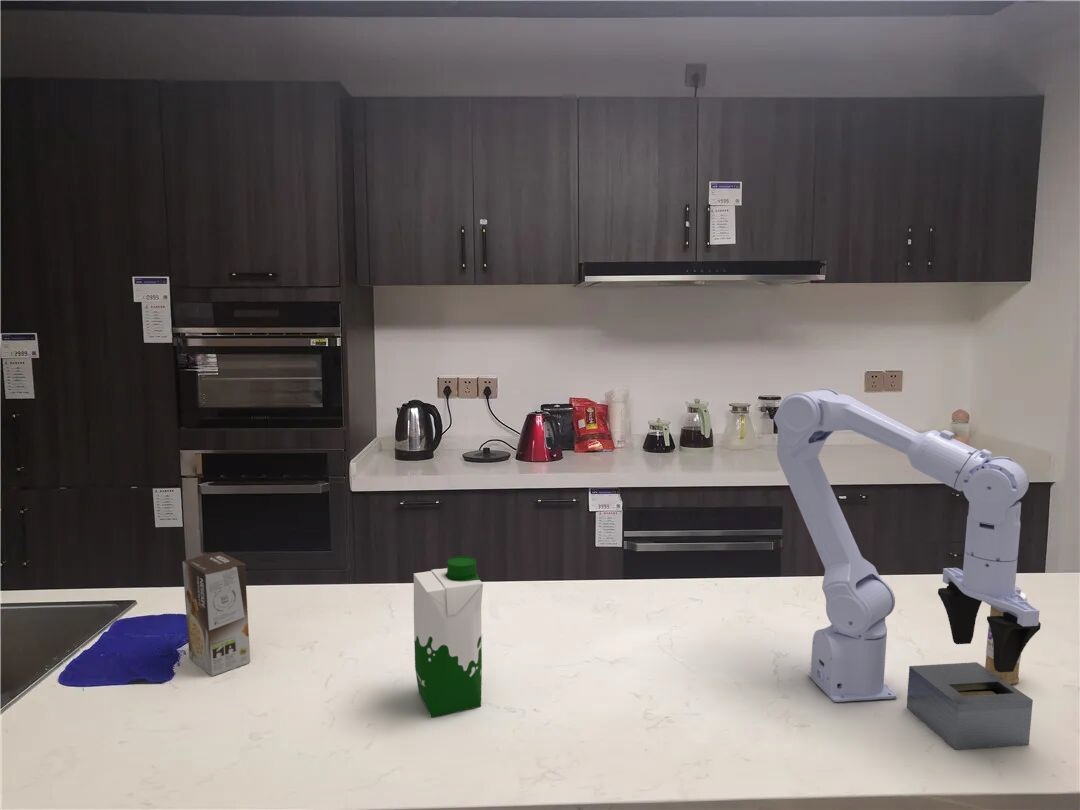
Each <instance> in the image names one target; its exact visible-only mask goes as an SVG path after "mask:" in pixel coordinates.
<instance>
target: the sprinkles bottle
mask: <svg viewBox="0 0 1080 810" xmlns="http://www.w3.org/2000/svg"><path fill="white" fill-rule="evenodd" d="M1019 595H1020V596H1021V597H1023V598H1024V599H1025V600H1026V601H1027V602H1028V596H1027V594H1026V593H1024V592H1023V591H1021V594H1019ZM989 612H990V613H989V616H1003V612H1002V611H1000V610H998V609H996V608H994V607H992V606H991V605H990V611H989ZM987 629H988V631H987V637H986V638H987V639H986V649H985V653H986V654H985V664H984V665H985V666H984V667H985V668H986V669H988V670H989V671H991V672H992V673H994V674H995V675H997V676H998V677H1000V678H1001V679H1002V680H1004V681H1005V682H1007V683H1008V684H1010V685H1013V684H1018V683H1019V680H1020V677H1019V673H1020V665H1021V664H1020V663H1021V658H1022V657H1021V656H1022V654H1021V655H1020V657H1019V659H1018V661H1017V664H1016V666H1015V669H1014V671H1013V672H997V671H996V670H995V668H994V662H993V650H994V647H993V638H992V633H991V629H990V626H989V625H988V628H987Z"/></svg>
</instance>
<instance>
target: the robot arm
mask: <svg viewBox="0 0 1080 810" xmlns="http://www.w3.org/2000/svg"><path fill="white" fill-rule="evenodd" d="M773 421H774V423H775V425H776V427H777V441H776V442H777V445H776V450H777V451H776V454H777V460H778V463H779V465H780V467H781V470H782V472H783V475H784V476H785V478H786V481H787V483H788V485H789V488H790V491H791V493H792V496H793V498H794V499H795V502H796V504H797V507H798V509H799V511H800V514H801V516H802V518H803V522H804V523H805V525H806V528H807V530H808V533H809V535H810V537H811V539H812V542H813V544H814V546H815V549H816V551H817V553H818V556H819V557H820V560H821V563H822V565H823V567H824V575H823V580H822V584H821V585H822V586H821V589H822V591H823V594H824V596H825V612H826V616H827V618H828V621H829V622H830V625H829V626H827V627H824V628H821V629H817V630H816V631H814V634H813V637H812V644H811V645H812V647H811V662H810V663H811V664H810V665H811V667H810V671H808V673H807V674H808V677H810V678H811V679H812V681H813V683H815V684H816V685H818V687H819V688H820V689H821V690H822V691H823V692H824V693H825V694H826V695H827V696H828V697H829V698H830V699H831V701H833V702H835V703H836V702H837V703H841V702H842V703H843V702H853V701H854V702H857V701H873V700H888V699H897V694H896V692H895V691H893V689H891V688H890V687H889V686H888V685H887V684H885V669H886V652H887V651H886V650H887V639H888V638H887V637H888V636H887V635H888V634H887V633H888V628H887V624H886V617H888V616H889V615H890V614H892V613H893V611H894V609H895V607H896V606H895V605H896V596H895V594H894V592H893V589H892V588H891V586H890V585H889V584H888V583H887V582H886V581H885V580H883V578H881V576H880V575H879V572H878V571H877V568H876V566H875V565H873V564H872V563H871V562H869V561H868V560H867V559H865V558H864V557H863V556H862V554H861V552H860V550H859V547H858V545H857V543H856V540H855V538H854V535H853V534H852V531H851V529H850V526H849V524H848V522H847V520H846V518H845V516H844V513H843V511H842V509H841V506H840V504H839V503H838V500H837V497H836V495H835V493H834V490H833V488H832V486H831V484H830V482H829V480H828V478H827V474H826V473H825V470H824V468H823V466H822V464H821V462H820V460H819V456H820V453H821V451H822V449H823V447H824V445H825V442H826V441H827V440H828V439H827V438H829V437H830V436H831V434H832V433H834V432H837V431H838V432H841V431H852V432H855V433H856V434H859V435H861V436H864V437H866V438H868V439H870V440H872V441H875V442H877V443H880V444H881V445H884V446H886V447H889V448H891V449H893V450H896V451H898V452H900V453H902V454H905V455H906V456H907V459H908V462H909V463H910V465H911V467H912V468H913V469H914V470H917V471H918V472H920V473H923V474H924V475H927V476H929V477H930V478H932V479H934V480H937V481H938V482H940V483H942V484H944V485H946V486H948V487H950V488H952V489H954V490H956V491H958V492H963V495H964V497H965V498H966V500H967V501H968V502H969V503H968V514H967V517H966V530H965V542H964V543H965V544H964V555H963V564H962V565H963V566H962V567H963V568H962V569H960V568H958V567H946V568H942V583H944V584H946V585H947V586H946V587H941V588H938V589H937V595H938V596H939V598H940V600H941V602H942V604H943V606H944V609H945V612H946V615H947V619H948V622H949V626H950V632H951V636H952V641H953V643H954V644H955V645H968V644H969V645H971V644H972V642H973V638H974V634H975V628H976V627H975V626H976V622H977V621H976V619H977V616H978V613H979V609H980V607H981V604H982V602H983V603H985V604H987V605H988V606H990V607H991V606H992V607H994V608H996V609H998V610H1000V611H1002V612H1003V616H990V615H989V616H986V621H987V623H988V627H989V626H990V629H991V633H992V638H993V647H994V650H993V662H994V668H995V670H996V671H997V672H1013V671H1014V669H1015V666H1016V664H1017V661H1018V659H1019V657H1020V655H1021V656H1022V652H1023V650H1025V647H1026V646H1027V644H1028V643H1029V641H1030V640H1031V639H1032V638H1033V636H1035V635H1036V633H1038V631H1040V629H1041V626H1042V625H1041V622H1040V621H1039V619H1040V609H1038V608H1036V607H1035V606H1033V605H1031V603H1029V602H1028V600H1027V601H1026V600H1025V599H1024V598H1023V597H1021V596H1020V595H1019V594H1021V592H1022V589H1021V588H1020V587H1018V586H1017V585H1016V581H1017V579H1016V578H1017V571H1018V570H1017V569H1018V556H1019V545H1020V534H1021V533H1020V532H1021V525H1022V523H1021V515H1022V513H1021V512H1022V511H1021V508H1022V502H1021V501H1019V500H1020V499H1022V498H1023V497H1024V496H1025V494H1026V493H1027V491H1028V489H1029V485H1030V479H1029V475H1028V473H1027V471H1026V469H1025V468H1024V467H1023V466H1022V465H1020V463H1018V462H1016V461H1014V460H1013V459H1012V458H1011V457H1007V456H994V457H992V454H993V452H992V451H990V450H988V449H986V448H984V449H981V450H979V449H977V448H975V447H972V446H970V445H968V444H966V443H964V442H962V441H959V440H958V439H955V438H954V437H955V433H954V432H951V431H950V430H947V429H944V430H941V431H940V432H939V431H938V430H935V429H933V430H932V429H931V430H928V431H925V432H921V433H920V432H918V431H916V430H914V429H912V428H910V427H909V426H907V425H905V424H903V423H901V422H900V421H897V420H895V419H893V418H891V417H889V416H888V415H886V414H884V413H882V412H880V411H878V410H876V409H874V408H872V407H871V406H868V405H866V404H865V403H863V402H861V401H859V400H858V399H856V398H854V397H852V396H850V395H848V394H845V393H841V394H840V393H839V392H838V391H836V390H834V389H832V388H828V387H827V388H826V387H824V388H819V389H817V390H812V391H806V392H793V393H790V394H788V395H786V397H784V398H783V399H782V400H781V403H780V404H779V406H778V408H777V410H776V413H775V414H774V416H773Z"/></svg>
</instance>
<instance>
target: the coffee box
mask: <svg viewBox="0 0 1080 810" xmlns="http://www.w3.org/2000/svg"><path fill="white" fill-rule="evenodd" d="M181 562H182V572H183V573H182V575H183V587H184V590H183V591H184V600H185V601H184V602H185V612H186V613H185V615H186V628H187V629H186V630H187V643H188V645H187V646H188V658H189V660H191V661H192V662H194V664H196V665H198V667H200V668H201V669H202V670H203V671H205V672H206V673H207V674H208V675H210V676H211V677H214V676H217V675H220V674H223V673H225V672H227V671H231V670H233V669H236V668H239V667H242V666H246V665H247V664H250V662H251V652H250V651H251V650H250V647H251V646H250V633H249V615H248V614H249V613H248V611H249V610H248V597H247V596H248V595H247V577H246V576H247V575H246V563H244V562H242V561H240V560H238V559H236V558H234V557H232V556H230V555H228V554H226V553H224V552H222V551H216V552H213V553H208V554H203V555H200V556H196V557H194V558H189V559H185V560H183V561H181Z"/></svg>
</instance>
